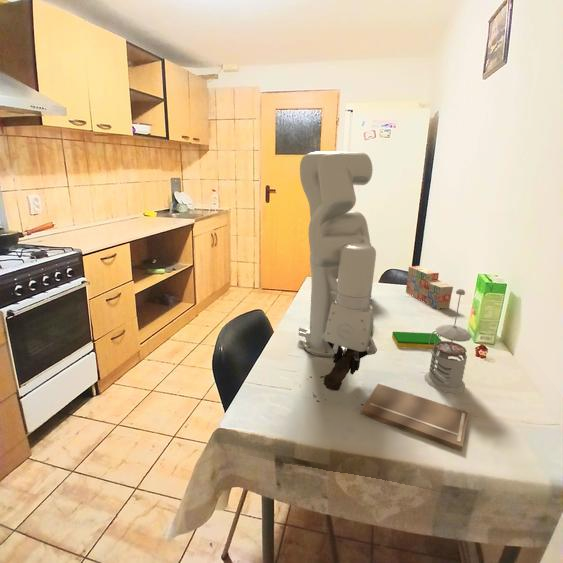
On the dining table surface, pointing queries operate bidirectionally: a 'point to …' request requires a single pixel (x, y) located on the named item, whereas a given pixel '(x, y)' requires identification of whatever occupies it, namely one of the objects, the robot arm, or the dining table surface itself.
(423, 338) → the dish sponge
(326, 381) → the hand tool
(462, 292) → the french press
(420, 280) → the stack of blocks
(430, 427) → the board
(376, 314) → the dining table surface
